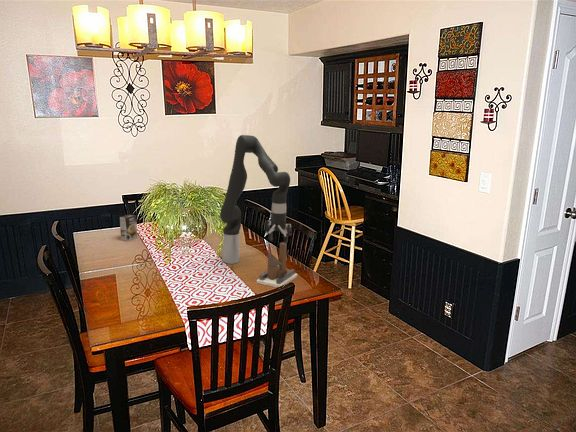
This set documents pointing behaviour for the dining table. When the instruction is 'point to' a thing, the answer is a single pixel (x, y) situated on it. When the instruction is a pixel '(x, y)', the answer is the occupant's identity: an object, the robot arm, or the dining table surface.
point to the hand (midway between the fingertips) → (278, 241)
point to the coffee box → (128, 227)
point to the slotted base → (273, 283)
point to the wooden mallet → (277, 263)
